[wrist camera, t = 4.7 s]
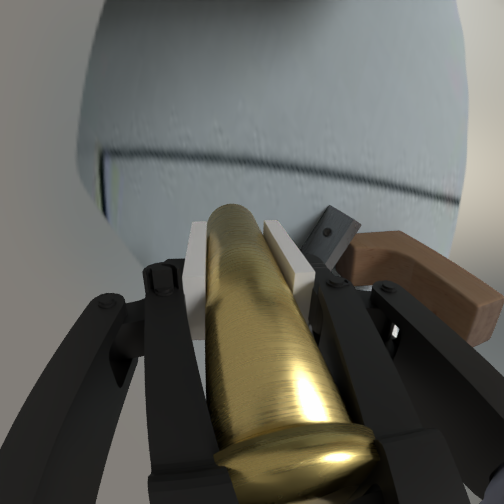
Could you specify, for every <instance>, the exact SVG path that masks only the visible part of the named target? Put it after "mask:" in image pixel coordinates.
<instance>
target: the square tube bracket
mask: <svg viewBox="0 0 504 504" xmlns="http://www.w3.org/2000/svg"><path fill="white" fill-rule="evenodd" d="M360 227H361V224H360V223H358V222H357V221H355V220H354V219H352V218H351V217H349V216H347V215H346V214H344V213H342V212H341V211H339V210H337V209H336V208H334V207H332V206H330V205H329V207H328V208H327V210H326V211H325V213H324V214H323V216H322V218H321V219H320V221H319V222H318V224H317V225H316V227H315V229H314V230H313V232H312V233H311V235H310V236H309V238H308V239H307V241H306V242H305V244H304V246H303V247H302V249H301V250H300V251H301V253H302V254H313V255H315V256H317V257H319V258H320V259H321V260H322V261H323V263H324V264H325V265H326V266H327V268H328V269H329V270H330V271H331V270H332V269H333V268H334V266H335V265H336V263H337V262H338V260H339V259H340V257H341V256H342V254H343V253H344V251H345V250H346V248H347V247H348V245H349V244H350V242H351V241H352V239H353V237H354V236H355V234H356V233H357V231H358V230H359V228H360ZM308 327H309V329H310V331H311V333H312V326H311V324H310V322H309V323H308Z"/></svg>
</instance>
